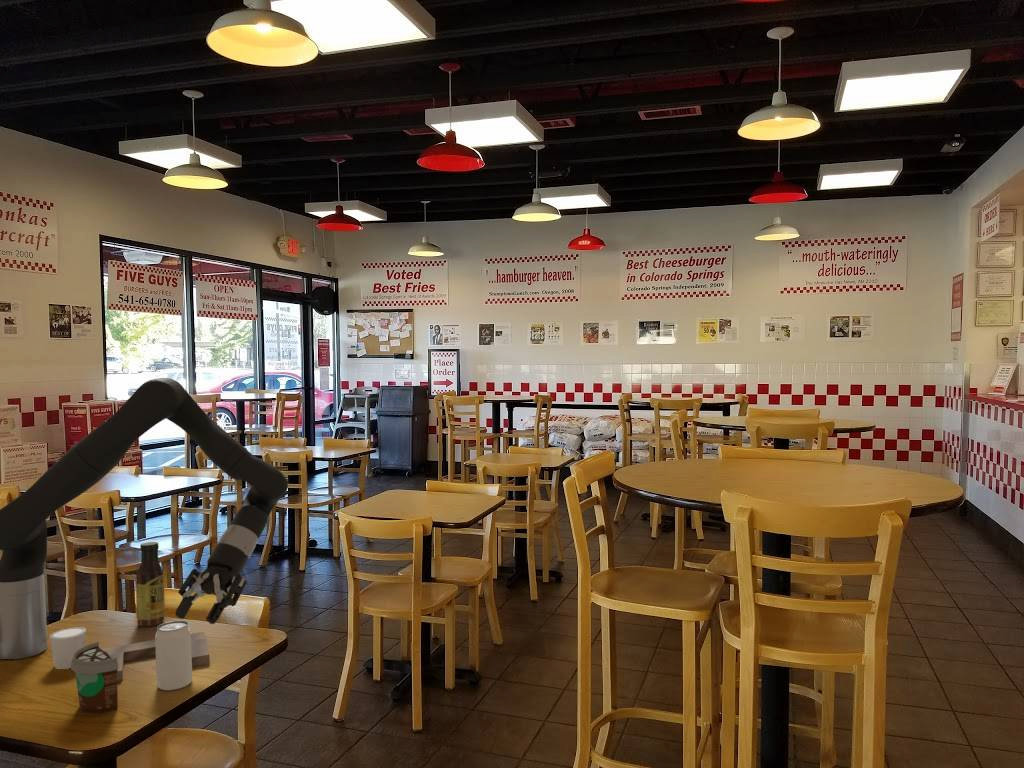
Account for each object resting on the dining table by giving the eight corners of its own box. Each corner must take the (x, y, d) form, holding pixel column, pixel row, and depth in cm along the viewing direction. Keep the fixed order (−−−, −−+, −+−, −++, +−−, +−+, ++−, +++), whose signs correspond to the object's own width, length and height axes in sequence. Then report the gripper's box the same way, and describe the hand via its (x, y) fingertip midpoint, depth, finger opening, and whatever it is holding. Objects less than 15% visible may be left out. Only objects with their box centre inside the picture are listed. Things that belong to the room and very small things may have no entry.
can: (179, 692, 145) (176, 632, 145) (149, 690, 147) (147, 630, 146) (199, 678, 152) (197, 620, 151) (171, 676, 153) (168, 618, 152)
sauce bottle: (154, 628, 180) (151, 547, 180) (131, 627, 181) (128, 546, 181) (171, 619, 187) (168, 540, 186) (148, 618, 188) (145, 540, 187)
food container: (64, 701, 143) (62, 650, 142) (99, 690, 147) (97, 640, 147) (83, 723, 134) (80, 668, 133) (120, 711, 138) (117, 658, 138)
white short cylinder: (76, 655, 165) (75, 624, 164) (94, 661, 161) (93, 629, 161) (44, 667, 159) (42, 635, 159) (61, 673, 155) (60, 640, 155)
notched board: (91, 685, 149) (91, 675, 149) (96, 658, 163) (95, 649, 163) (209, 663, 159) (209, 654, 159) (204, 640, 172) (204, 631, 172)
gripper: (199, 539, 164) (157, 607, 154) (249, 544, 158) (209, 615, 148) (218, 556, 169) (179, 623, 159) (267, 562, 163) (230, 632, 153)
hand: (194, 619), depth 154 cm, fingers open, 8 cm apart
